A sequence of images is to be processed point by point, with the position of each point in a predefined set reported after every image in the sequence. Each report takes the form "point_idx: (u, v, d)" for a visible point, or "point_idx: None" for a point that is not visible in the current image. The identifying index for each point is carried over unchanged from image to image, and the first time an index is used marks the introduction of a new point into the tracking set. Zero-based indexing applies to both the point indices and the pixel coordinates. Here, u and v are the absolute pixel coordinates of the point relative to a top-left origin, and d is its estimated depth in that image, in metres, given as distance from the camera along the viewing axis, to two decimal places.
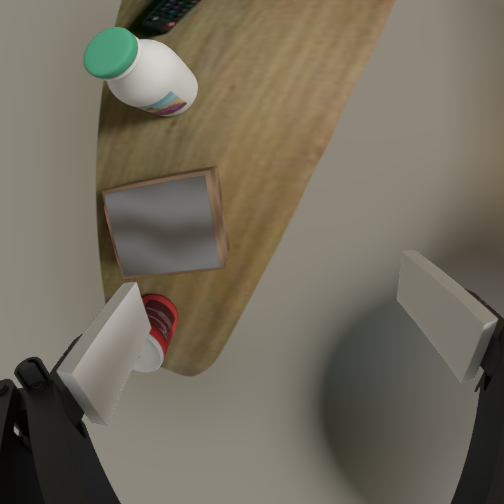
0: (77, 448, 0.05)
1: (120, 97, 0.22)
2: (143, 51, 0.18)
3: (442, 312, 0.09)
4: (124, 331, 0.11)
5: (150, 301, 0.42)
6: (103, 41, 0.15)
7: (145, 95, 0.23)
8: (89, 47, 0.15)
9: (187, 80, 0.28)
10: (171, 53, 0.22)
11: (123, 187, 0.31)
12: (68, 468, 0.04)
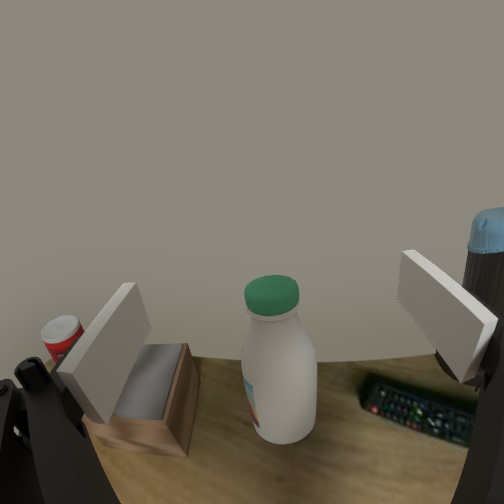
0: (77, 448, 0.05)
1: None
2: (276, 330, 0.23)
3: (442, 312, 0.09)
4: (124, 331, 0.11)
5: None
6: (282, 284, 0.24)
7: (243, 354, 0.26)
8: (281, 277, 0.25)
9: (275, 415, 0.25)
10: (292, 376, 0.23)
11: (182, 358, 0.34)
12: (68, 468, 0.04)
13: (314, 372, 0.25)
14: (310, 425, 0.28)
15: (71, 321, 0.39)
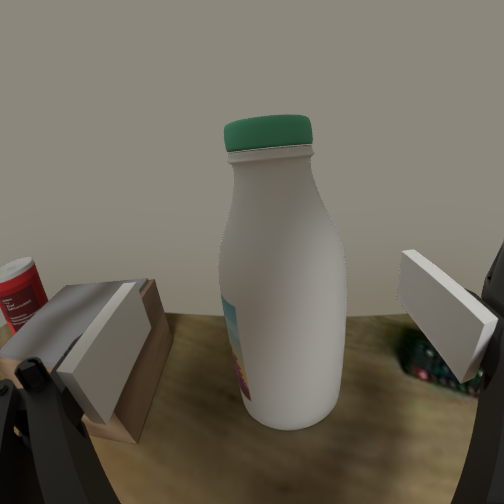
0: (77, 448, 0.05)
1: None
2: (277, 180, 0.13)
3: (442, 312, 0.09)
4: (124, 331, 0.11)
5: None
6: None
7: (221, 249, 0.16)
8: None
9: (277, 369, 0.15)
10: (308, 278, 0.13)
11: (142, 295, 0.24)
12: (68, 468, 0.04)
13: (344, 285, 0.15)
14: (333, 397, 0.17)
15: (25, 262, 0.29)
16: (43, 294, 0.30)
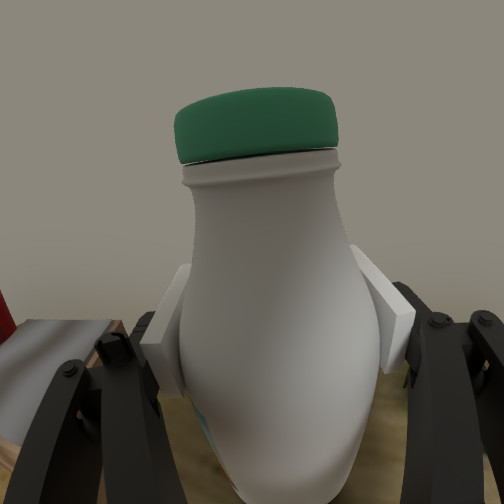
0: (153, 431, 0.06)
1: None
2: (273, 222, 0.06)
3: None
4: None
5: None
6: None
7: None
8: None
9: (271, 483, 0.08)
10: (325, 397, 0.07)
11: None
12: (142, 453, 0.05)
13: (376, 379, 0.09)
14: (343, 483, 0.11)
15: None
16: (10, 323, 0.23)
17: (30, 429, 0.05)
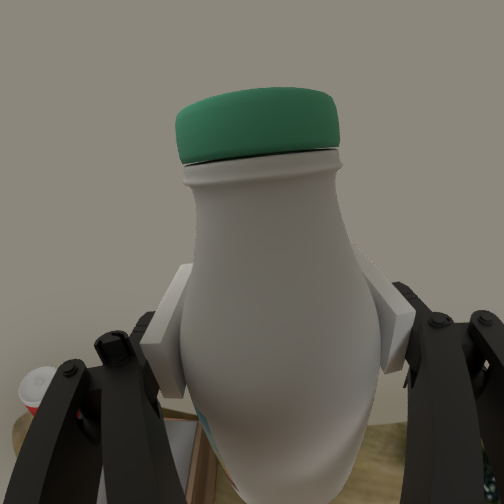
0: (153, 431, 0.06)
1: None
2: (274, 223, 0.06)
3: None
4: None
5: None
6: None
7: None
8: None
9: (271, 483, 0.08)
10: (326, 397, 0.07)
11: (197, 444, 0.22)
12: (142, 453, 0.05)
13: (377, 379, 0.09)
14: (344, 483, 0.11)
15: None
16: None
17: (30, 429, 0.05)
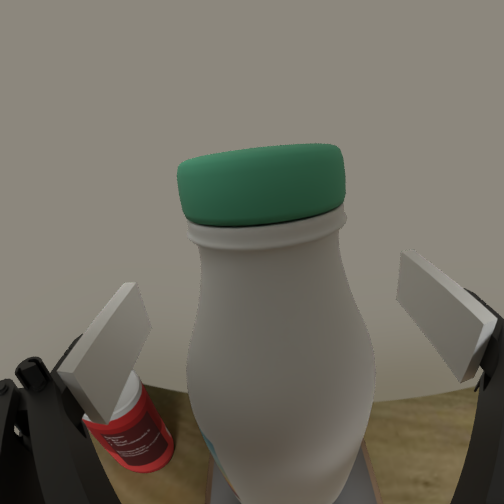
0: (77, 448, 0.05)
1: None
2: (278, 286, 0.07)
3: (441, 312, 0.09)
4: (124, 331, 0.11)
5: (164, 444, 0.23)
6: None
7: (187, 364, 0.09)
8: None
9: (272, 497, 0.09)
10: (322, 432, 0.07)
11: None
12: (68, 468, 0.04)
13: (370, 408, 0.09)
14: (339, 492, 0.11)
15: None
16: (156, 411, 0.24)
17: None
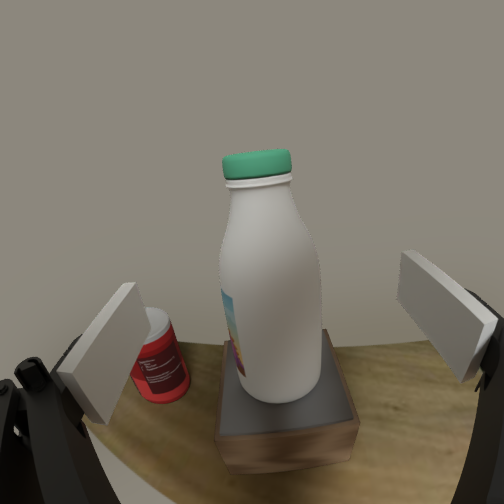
0: (77, 448, 0.05)
1: None
2: (263, 202, 0.17)
3: (442, 312, 0.09)
4: (124, 331, 0.11)
5: (183, 374, 0.33)
6: None
7: (220, 253, 0.20)
8: None
9: (266, 347, 0.19)
10: (287, 275, 0.18)
11: (331, 345, 0.29)
12: (68, 468, 0.04)
13: (317, 281, 0.20)
14: (314, 374, 0.22)
15: (154, 315, 0.34)
16: (178, 346, 0.34)
17: None
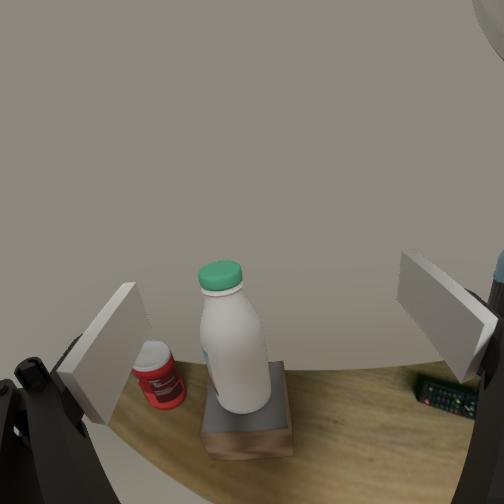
0: (77, 448, 0.05)
1: None
2: (222, 303, 0.29)
3: (442, 312, 0.09)
4: (124, 331, 0.11)
5: (181, 389, 0.45)
6: (229, 267, 0.30)
7: (200, 326, 0.32)
8: (230, 262, 0.31)
9: (228, 381, 0.31)
10: (237, 345, 0.29)
11: (284, 374, 0.40)
12: (68, 468, 0.04)
13: (260, 344, 0.31)
14: (263, 397, 0.33)
15: (159, 347, 0.45)
16: None
17: None
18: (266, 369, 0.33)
